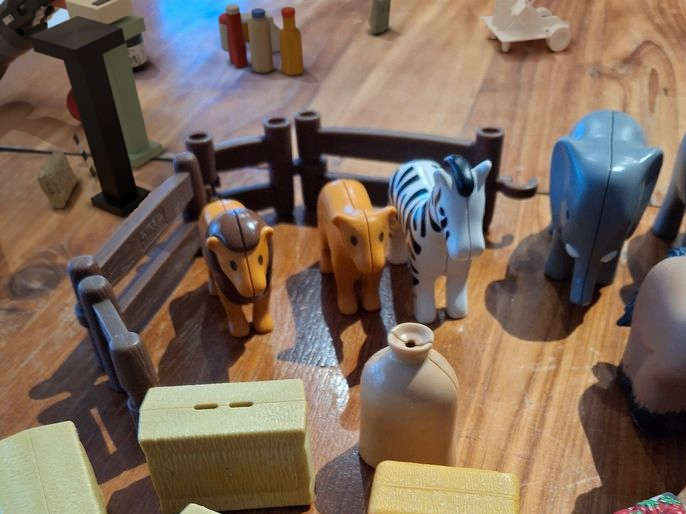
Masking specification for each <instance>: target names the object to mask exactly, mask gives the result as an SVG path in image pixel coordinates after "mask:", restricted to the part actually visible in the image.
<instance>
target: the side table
mask: <svg viewBox="0 0 686 514" xmlns="http://www.w3.org/2000/svg"><path fill="white" fill-rule="evenodd" d="M109 25H113V26H117V27H121V28H122V29H123V34H124V38H125V42H126V40H127V39H129V38H131V37H133V36H135V35H138V34H140V33H142V34H143V33H144V32H146V31H147V29H146V23H145V17H144V16H141V15H138V14H135V13H133V14H129V15H127V16H125V17H123V18H121V19H118V20H116V21H114V22H112V23H110V24H109ZM103 57H104V61H105V65H106V69H107V73H108V77H109V81H110V85H111V89H112V93H113V97H114V101H115V105H116V109H117V112H118V116H119V120H120V124H121V128H122V132H123V136H124V140H125V144H126V148H127V152H128V156H129V160H130V164H131V168H136V169H137V168H139V167H141V166H142V165H144V164H145V163H147V162H148V161H150V160H152V159H154V158H155V157H157V156H158V155H160V154H162V153H163V152H164V150H163V146H162V143H160V142H156V141H154V140H152V139H151V140H150V139H149V137H148V133H147V128H146V125H145V120H144V115H143V110H142V106H141V102H140V98H139V94H138V89H137V85H136V80H135V75H134V72H133V71H132V67H131V62H130V58H129V54H128V49H127V45H126V43H125V44H123V45H120V46H118V47H116V48H114V49H112V50H110V51H108V52H106V53H104V54H103Z"/></svg>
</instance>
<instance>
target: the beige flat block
mask: <svg viewBox="0 0 686 514" xmlns="http://www.w3.org/2000/svg"><path fill="white" fill-rule="evenodd" d="M50 5H51V6H54V7H58V8H60V9H61V10H62V9H63V10H66V11H67V14H68V17H69V19H71V18H73V17H75V16H80V17H84V18H87V19H91V20H95V21H98V22H102V23H106V24H110V23H112V22H114V21H116V20H118V19H121V18H123V17H125V16H127V15H129V14H132V13H133V14H134V9H133V5H132V1H131V0H55V1H53V2H52V3H51V4H50Z"/></svg>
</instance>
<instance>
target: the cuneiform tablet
mask: <svg viewBox="0 0 686 514" xmlns="http://www.w3.org/2000/svg"><path fill="white" fill-rule="evenodd" d="M72 138H73V141H74V142H75V145H76V146H77V149H78V151H79V152H80V154H81V156H82V158H83V160H84V162H85V164H86V167H87V168H88V170H89V172H90V174H91V176H92V177H94V176H95V174H96V169H95V167H94V165H92V163H91V160H90V158H89V157H88V155H87V153H86V150H85V149H84V147H83V144H82V143H81V140H80V139H79V137H78V135H77V133H74V135H73V136H72ZM76 176H77V175H75V172H74V170H73V168H72V166H71V163H70V162H69V159H68V157H67V156H66V153H65V152H64V150H63V149H61V148H58V149H56V150H53V152H52V153H51V155H50V156H49V158H48V160H47V161H46V162H45V163H44V165H43V167H42V170H41V172H40V173H39V175H38V176H37V182H38V184H39V186H40V189H41V191H42V193H43V194H44V196H45V197H46V198H47V199H48V200H49V202H50V203H51V205H52V206H53V207H54V208H55V209H58V210H59V209H60V210H61V209H64V208H65V207H66V203H67V201H68V200H69V198H70V197H71V194H72V191H73V189H74V188H75V186H76V184H78V178H77V177H76Z"/></svg>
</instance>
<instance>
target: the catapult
mask: <svg viewBox="0 0 686 514" xmlns="http://www.w3.org/2000/svg"><path fill="white" fill-rule="evenodd" d="M534 2H535V0H531V2H530V0H495V1H494V8H493V14H492V15H486V16H479V19H480V20H481V21H482V22H483V24H484V25H485V26H486V27H487V28H488V29H489V31H490V39H491V40H496V39H498V40H499V41H500V42H501V51H502V52H504V53H507V52H509V50H510V47H511V43H514V42H523V41H531V40H534V41H535V40H541V39H543V40H544V39H545V43H546V45H547V47H548V48H549V49H550V50H552V51H553V52H555V53H559V52H561V51H564V50H565V49H567V47H568V46H569V44H570V42H571V39H572V32H571V27H570V23H569V22H568V21H566V20H564V21H563V20H562V19H561V18H560V17H559V16H558V15H553V13H552V11H550V10H549V9H548V8H547V7H544V6H540V7H537V8H535V7H534V6H533V3H534Z"/></svg>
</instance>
